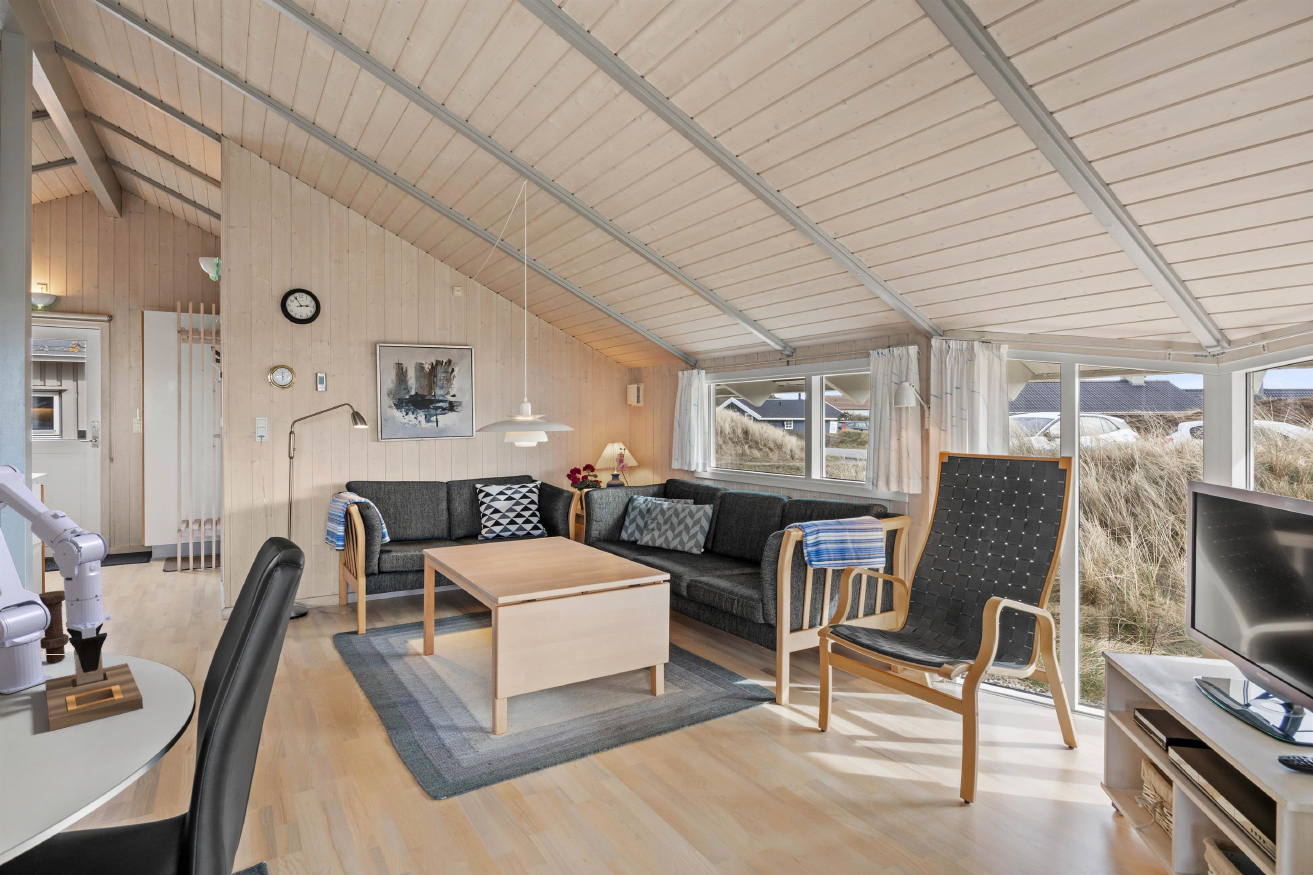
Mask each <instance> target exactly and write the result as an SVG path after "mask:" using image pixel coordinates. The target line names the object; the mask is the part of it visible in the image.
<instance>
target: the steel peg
mask: <svg viewBox="0 0 1313 875" xmlns="http://www.w3.org/2000/svg"><path fill="white" fill-rule="evenodd" d="M102 651H103V650H101V653H100V660H99V666H98V669H97V670H96V671H91V672H86V673H84V672H83V670H82V667H81V664H80V660H79V657H78V654H77V652H76V650H75V649H73V656H74V658H73V659H74V670H75V672H74V674H76V687H78V686H83V685H87V684H92V683H96V682H101V681H103V668H104V666H103V655H102V653H103V652H102Z"/></svg>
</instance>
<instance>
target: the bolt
mask: <svg viewBox="0 0 1313 875" xmlns="http://www.w3.org/2000/svg"><path fill="white" fill-rule="evenodd" d="M38 595H39V597H40V599H41V601H42V603H43V604H44V605H45V606H46V607H47V609H48V610H49V612H50V624H49V626H48V628H47V629H46V630H44V635H43V636H44V637H43V638H40V642H41V649H45V660H46V661H45V662H46V663H47V664H52V663H53V664H57V663H60V662H62V661H64V660H65V658H66V652H65V651H66V650H65V645H67V644H68V643H69V638H70V637H69V634H66V633H64V627H63V626H64V625H63V612H62V611H63V602H65V590H54V591H45V592H42V593H39V594H38ZM46 654H65V655H46Z"/></svg>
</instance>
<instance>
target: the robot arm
mask: <svg viewBox="0 0 1313 875" xmlns="http://www.w3.org/2000/svg"><path fill="white" fill-rule="evenodd" d="M7 506H8V507H9V508H11V509H12V510H13V511H15V512H17V513H18V514H19V515H21V516H22V517H23V518H25V519H26V520H27V521H29V522H30V523H31V525H30V531H31V532H32V533H33V534H34V535H35V536H36V537H37V538H38V539H40V541H42V542H43V543H44V544H45V545H46V546H48V547H49V548H50V549H51V550H52V551H53V552H52V557H53V560H54V562H55V563H56V565H57V566H58V569H59V575H60V576H61V577H62V578H63V587H64V590H63V591H65V600H64V602H65V603H64V604H65V614H66V621H65V627H66V632H67V633H68V635H70V637H69V641H68V643H70V645H71V646H72V647H73V649H74V650H76V652H77V654H78V657H79V660H80V664H81V667H82V670H83V672H84V673H86V672H91V671H96V670H97V669H98V666H99V660H100V653H101V651H102V648H103V646H104V643H105V641H106V639H107V636H108V632H103V633H101V632H100V631H101V629H102V628H103V625H104V622H106V621H110V620H112V619H113V615H112V614H111V613H108V614H105V611H104V608H105V607H104V595H103V579H102V565H101V564H102V562H101V561H103V560H104V559H105V558H106V556H107V555H108V544H107V541H106V539H105V538H104V537H103V535H101V533H99V532H96V531H94V532H93V531H91V532H90V531H89V530H84V529H83V528H81V527H80V526H79V524H77V523H76V522H74V521H73V519H71V518H70V517H69V516H67V513H66V512H64V511H62V510H59V509H51V510H50V508H48V507H47V506H46V505H45V504H44V503H43V502H42V501H41V500H40V499H39V498H38V497H37V496H36V494H34V493H33V491H31V489H29V487H28V486H27V485H26V477H25V474H24V473H22V472H21V471H20V470H19V469H18V468H17V467H16V466H15V465H12V464H5V465H1V466H0V511H1V510H2V509H5V508H6V507H7ZM9 608H10V609H9ZM2 610H3V611H2ZM49 624H50V612H49V610H48V609H47V607H46V606H45V605H44V604H43V603H42V601H41V599H40V597H39V594H38V593H36V592H34V591H30V590H28V589H25V588H23V585H22V582H21V579H20V576H19V575H18V572H17V568H16V566H15V564H14V560H13V558H12V555H11V552H10V549H9V547H8V544H7V541H6V539H5V536H4V533H3V531H2V527H0V694H5V695H10V694H15V693H16V692H20V691H23V690H26V689H28V688H31V687H35V686H37V685H41V684H44V683H45V680H49V679H54V676H51V675H44V673H43V672H44V671H43V660H42V659H43V658H42V648H41V642H40V640H41V637H43V636H45V635H44V633H45V632H44V630H46V629H47V628H48V626H49Z"/></svg>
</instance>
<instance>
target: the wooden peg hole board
mask: <svg viewBox="0 0 1313 875" xmlns="http://www.w3.org/2000/svg"><path fill="white" fill-rule="evenodd" d="M44 683H45V694H46V695H45V696H46V704H47V714H48V724H49V725H48V726H49V732H52V731H56V730H60V729H64V728H68V727H69V728H70V727H72V726H76V725H77V726H78V725H81V724H85V723H88V722H93V721H97V720H101V719H105V718H110V717H112V716H117V715H120V714H124V713H128V712H133V711H137V710H142V709H144V702H143V700H144V699H143V695H142V694H141V692H140V689H139V686H138V684H137V682H136V680H135V678H134V675H133V673H132V671H131V668H130V667H129V664H128V662H126V663H121V664H117V665H112V666H107V667H103V681H101V682H96V683H92V684H87V685H83V686H78V687H76V674H75V673H73V674H70V675H69V674H68V675H65V676H64V675H63V676H58V677H55V678H54V679H49V680H45V682H44Z"/></svg>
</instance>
